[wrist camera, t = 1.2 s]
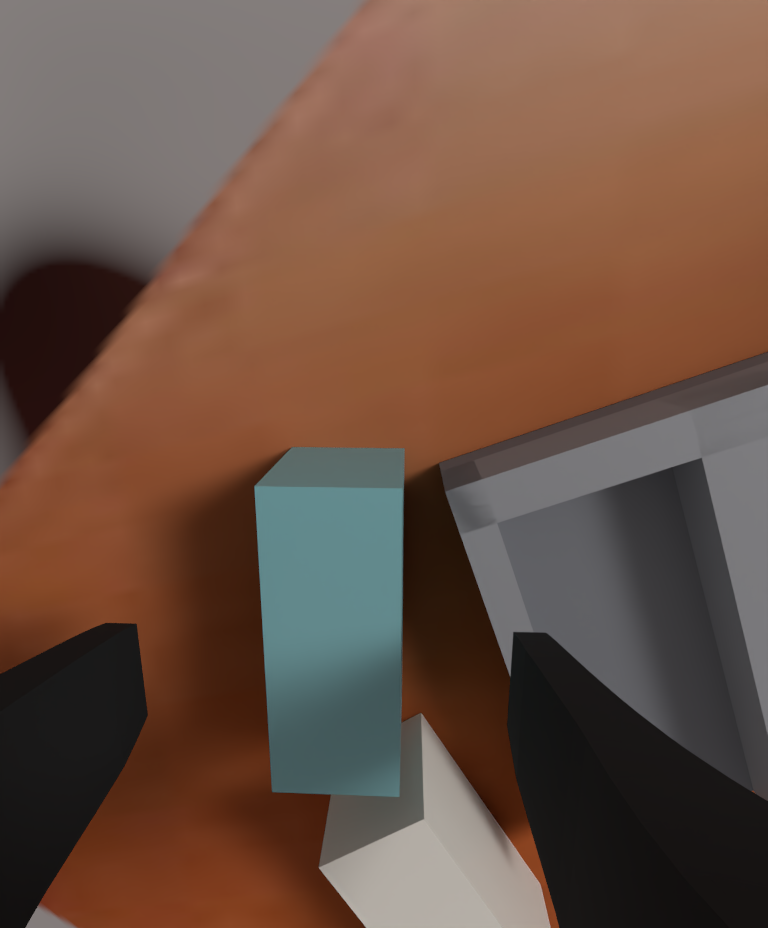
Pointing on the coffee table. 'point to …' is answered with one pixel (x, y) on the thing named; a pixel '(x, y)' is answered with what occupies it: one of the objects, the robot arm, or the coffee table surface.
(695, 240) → the coffee table surface
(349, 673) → the tall teal prism
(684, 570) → the grey two-slot rack
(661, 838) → the robot arm
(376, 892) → the tall white block
